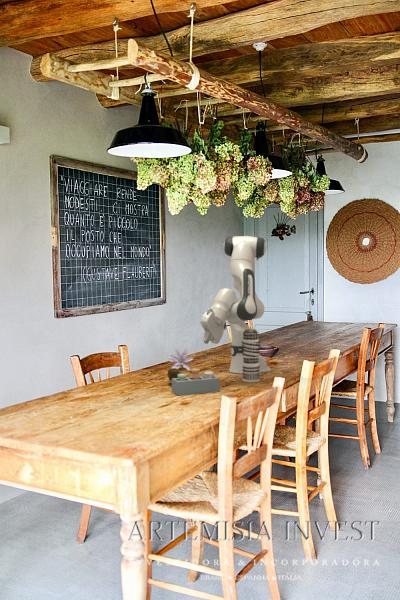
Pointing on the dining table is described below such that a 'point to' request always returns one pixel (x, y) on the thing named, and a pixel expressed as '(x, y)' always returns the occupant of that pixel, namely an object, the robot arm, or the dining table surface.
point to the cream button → (208, 374)
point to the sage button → (182, 377)
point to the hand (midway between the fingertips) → (205, 342)
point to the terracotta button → (195, 373)
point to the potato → (173, 373)
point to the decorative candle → (250, 355)
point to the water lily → (180, 359)
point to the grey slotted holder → (195, 385)
